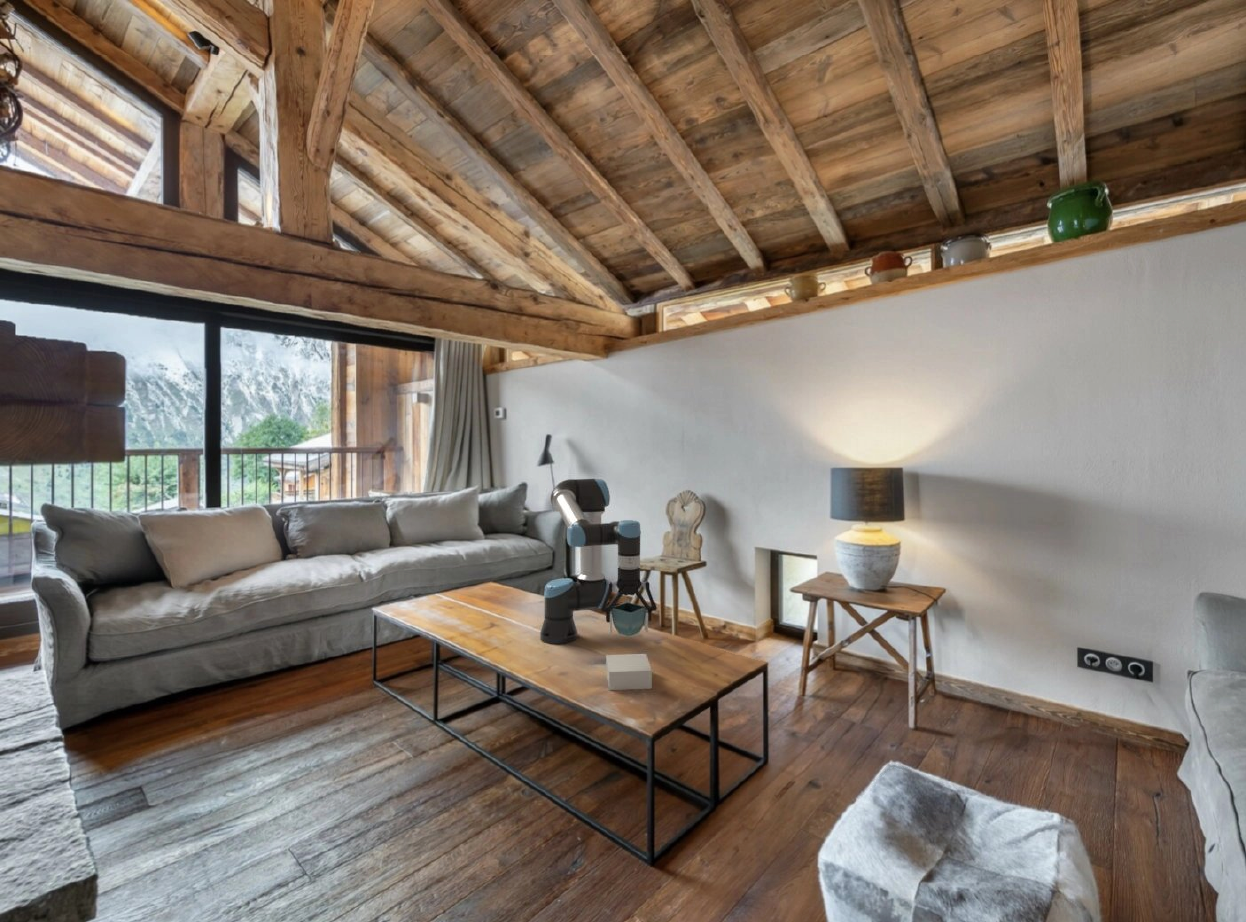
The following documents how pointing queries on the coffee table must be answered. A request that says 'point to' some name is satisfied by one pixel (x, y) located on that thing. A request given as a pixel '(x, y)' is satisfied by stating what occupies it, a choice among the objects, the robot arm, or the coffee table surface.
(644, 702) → the coffee table surface
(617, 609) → the flower pot
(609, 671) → the stone slab
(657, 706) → the coffee table surface
